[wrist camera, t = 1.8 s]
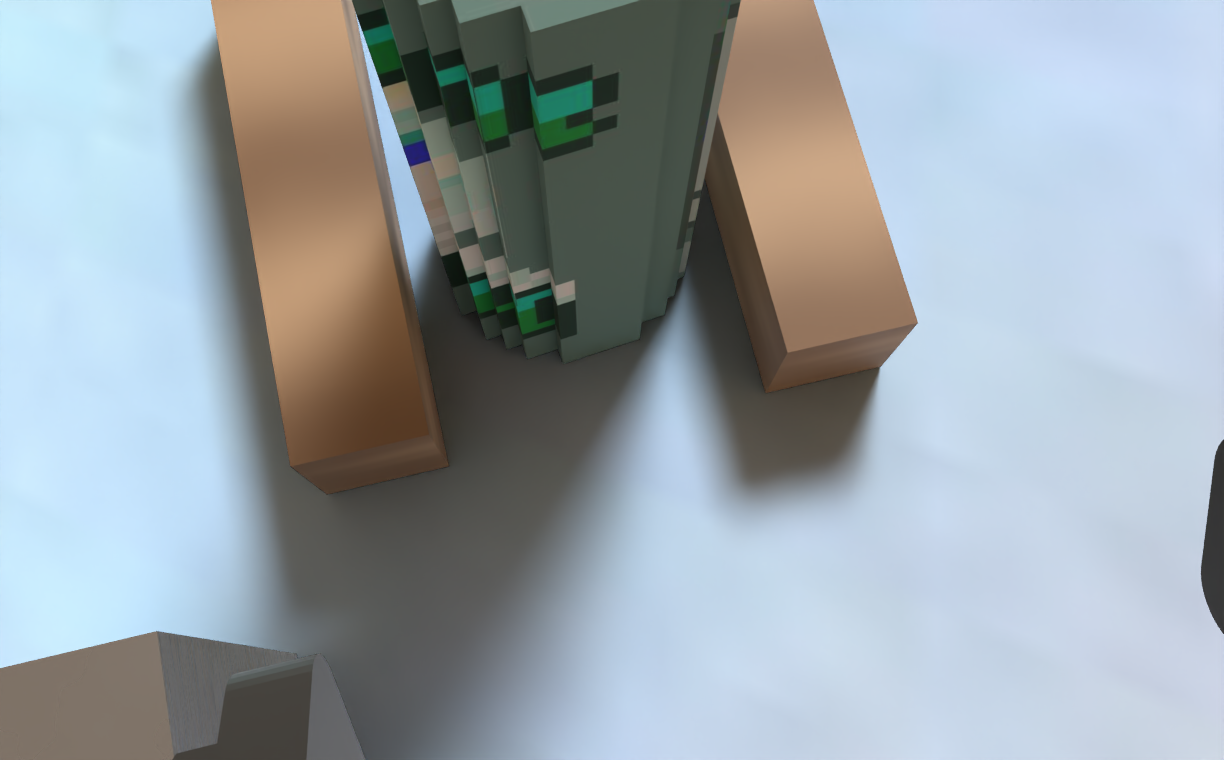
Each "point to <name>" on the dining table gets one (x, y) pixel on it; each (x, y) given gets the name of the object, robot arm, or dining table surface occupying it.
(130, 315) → the dining table surface
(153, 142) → the dining table surface
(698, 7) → the can
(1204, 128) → the dining table surface
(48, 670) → the v cradle
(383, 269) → the wooden bar pair
